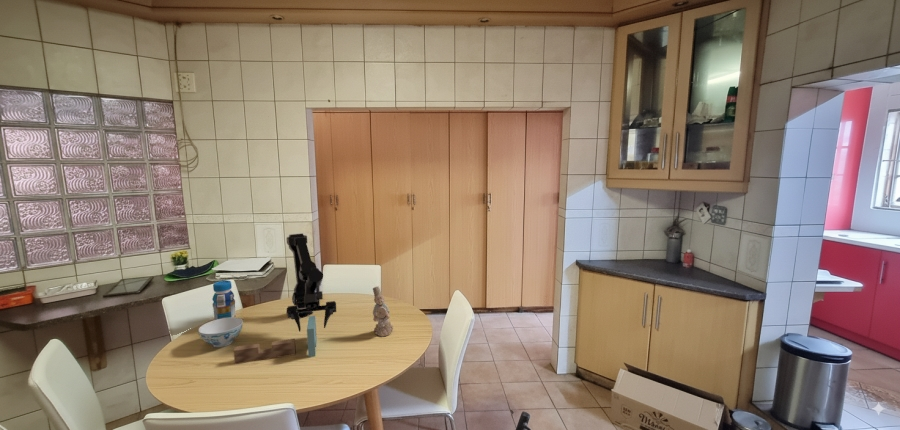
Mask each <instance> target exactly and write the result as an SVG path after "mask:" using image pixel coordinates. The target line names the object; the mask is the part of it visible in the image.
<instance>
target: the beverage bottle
mask: <svg viewBox="0 0 900 430" xmlns="http://www.w3.org/2000/svg"><path fill="white" fill-rule="evenodd" d="M212 286H213V287H212V289H213V292H214V294H213V296H212V301H213V303H212V308H213V309H212V310H213V317H214V320H217V319H222V318H229V317H236V318H237V316H236V300H235V294H234V292H233V291H232V286H233V285H232V281H231V280H220V281H217V282H214V283H213V284H212Z"/></svg>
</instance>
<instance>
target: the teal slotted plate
mask: <svg viewBox="0 0 900 430" xmlns="http://www.w3.org/2000/svg"><path fill="white" fill-rule="evenodd" d="M306 336H307V355H308V358H312V357H316V352H317V351H316V348H317V343H318V341H317V338H318V336H317V323H316V315H312V316H311V315H308V320H307V326H306Z"/></svg>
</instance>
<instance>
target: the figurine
mask: <svg viewBox="0 0 900 430" xmlns="http://www.w3.org/2000/svg"><path fill="white" fill-rule="evenodd" d="M372 291H373V295H374V298H373V301H374V303H375V305H374V307H373V309H372V316H373V321H374V322H377V323H376V324H375V327H374V329H373V331H375V335H377V336H378V337H386V336H389V335H390V334H391V333H392V332H393V330H394V325H392V323H391V321H390V317H391V316H390V309H389V307H388V305H387V303H386V302H385V296H384V295H383V293H382V292H381V288H380V287H379V285H378V286H375V287H373V288H372Z"/></svg>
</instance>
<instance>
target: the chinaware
mask: <svg viewBox="0 0 900 430" xmlns="http://www.w3.org/2000/svg"><path fill="white" fill-rule="evenodd" d="M243 324H244V320H243V319H242V318H241V317H237V316H236V317H229V318H222V319H217V320H215V319H214V320H212V321H211V320H210V321H208V322H206V323H204V324H202V325H201V326H200V327H198V333H199V335H200V338H201V339H202V340H203V341H204V342H206V343H207V344H209V345H212V346H213V347H214V348H222V347H226V346H229V345H231V344H232V343H233V341H234V340H235V339H236V338H237V337H238V336H239V334H240V333H241V330H242V329H243Z"/></svg>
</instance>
